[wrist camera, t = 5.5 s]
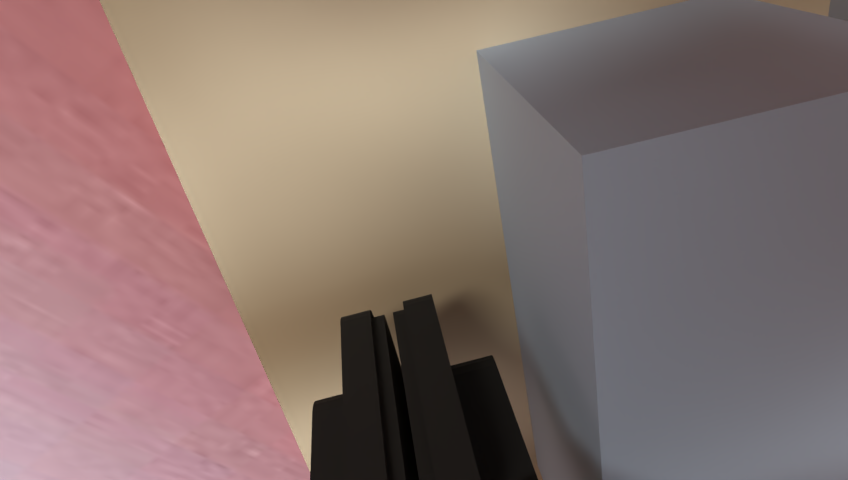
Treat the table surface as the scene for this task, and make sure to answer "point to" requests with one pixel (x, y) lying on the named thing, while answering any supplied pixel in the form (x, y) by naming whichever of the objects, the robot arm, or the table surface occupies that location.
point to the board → (347, 165)
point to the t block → (679, 240)
